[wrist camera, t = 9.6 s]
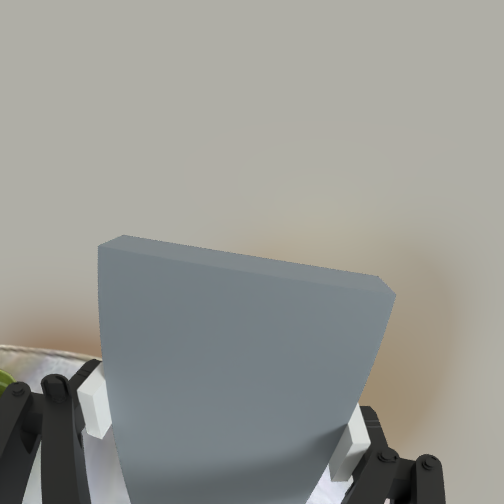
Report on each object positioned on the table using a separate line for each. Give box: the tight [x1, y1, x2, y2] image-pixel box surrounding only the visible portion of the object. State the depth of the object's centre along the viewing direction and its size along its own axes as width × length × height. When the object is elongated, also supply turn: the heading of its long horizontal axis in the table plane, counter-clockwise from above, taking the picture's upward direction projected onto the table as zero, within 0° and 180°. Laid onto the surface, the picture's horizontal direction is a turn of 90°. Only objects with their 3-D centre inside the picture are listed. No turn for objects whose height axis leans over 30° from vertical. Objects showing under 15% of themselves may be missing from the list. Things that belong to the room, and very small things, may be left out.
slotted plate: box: [98, 235, 396, 504], centre depth 13 cm, size 10×2×18 cm, turn 86°
